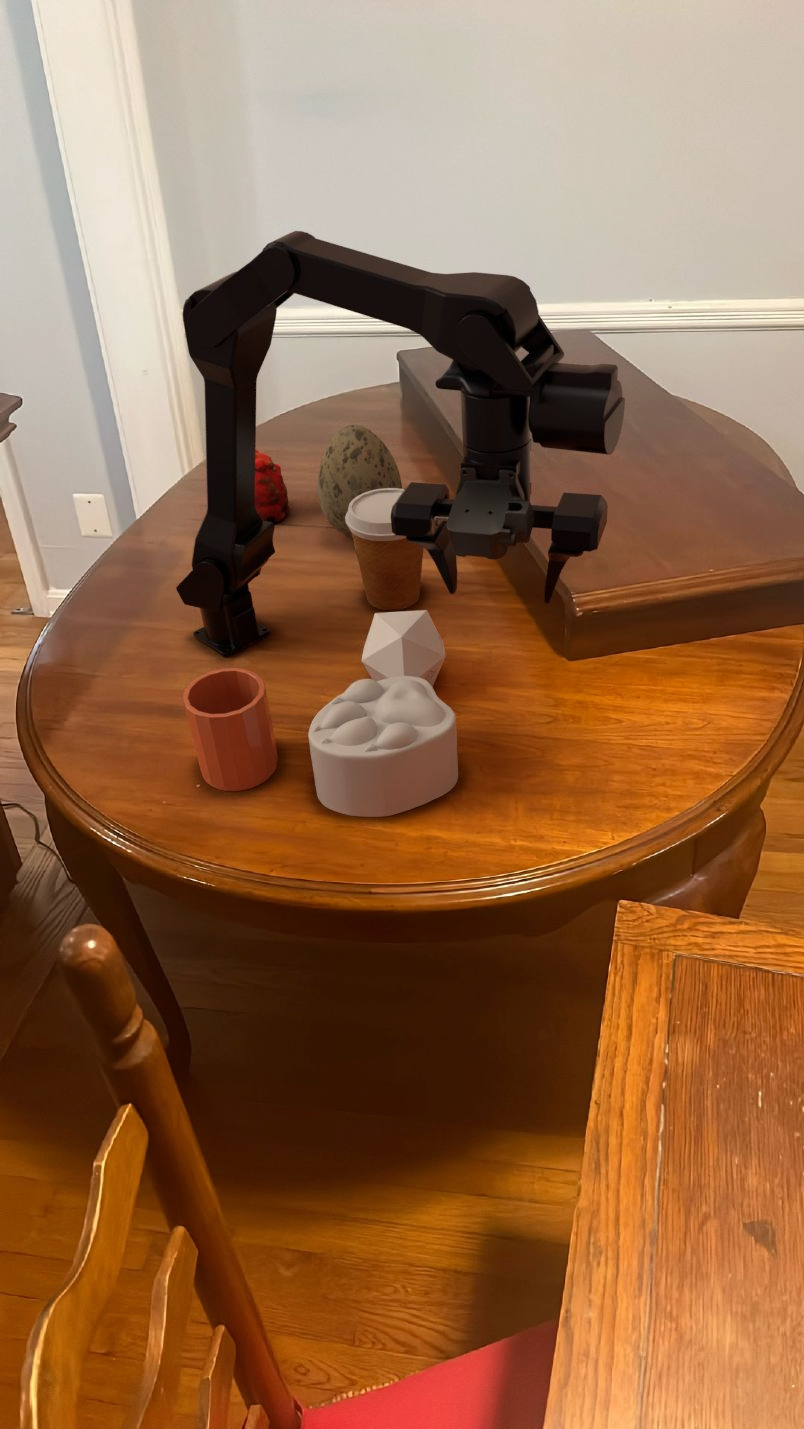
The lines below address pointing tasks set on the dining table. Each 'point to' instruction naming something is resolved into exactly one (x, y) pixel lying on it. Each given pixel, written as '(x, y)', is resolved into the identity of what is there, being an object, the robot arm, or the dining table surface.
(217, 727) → the terracotta cup
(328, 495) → the decorative egg
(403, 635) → the die
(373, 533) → the disposable coffee cup
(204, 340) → the robot arm
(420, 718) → the lumpy-topped squat cylinder
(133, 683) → the dining table surface
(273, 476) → the red bumpy tall lump
